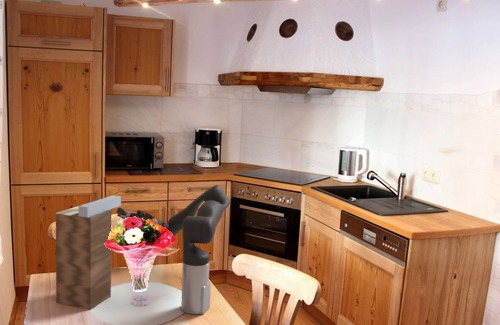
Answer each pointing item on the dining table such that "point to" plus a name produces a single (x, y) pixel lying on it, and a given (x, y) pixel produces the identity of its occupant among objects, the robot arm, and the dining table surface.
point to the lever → (99, 206)
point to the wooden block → (82, 258)
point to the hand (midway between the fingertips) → (127, 211)
